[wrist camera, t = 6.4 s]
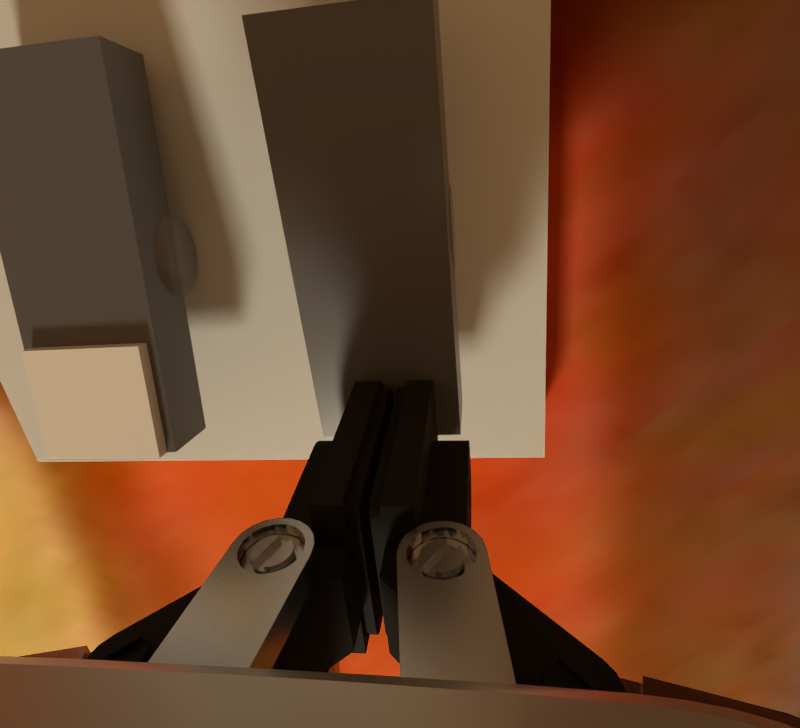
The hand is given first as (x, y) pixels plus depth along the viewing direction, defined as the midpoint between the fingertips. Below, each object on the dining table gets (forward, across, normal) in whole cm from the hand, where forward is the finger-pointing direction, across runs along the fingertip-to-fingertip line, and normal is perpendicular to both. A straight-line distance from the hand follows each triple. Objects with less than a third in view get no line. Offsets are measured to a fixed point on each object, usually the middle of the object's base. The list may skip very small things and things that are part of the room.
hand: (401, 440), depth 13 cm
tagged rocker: (+2, +6, -4) cm, 8 cm away
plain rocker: (+2, 0, -4) cm, 5 cm away
